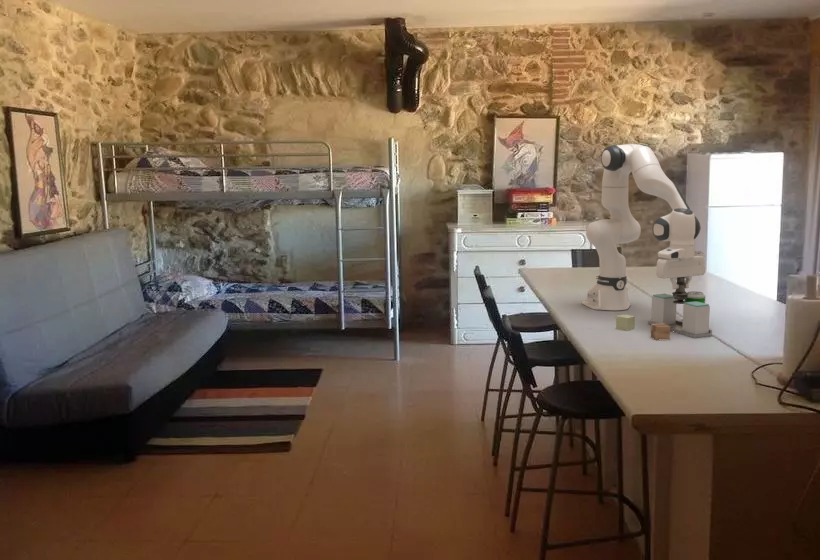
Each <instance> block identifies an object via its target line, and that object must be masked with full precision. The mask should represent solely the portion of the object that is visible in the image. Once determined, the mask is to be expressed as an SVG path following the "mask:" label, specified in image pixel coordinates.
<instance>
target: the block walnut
mask: <svg viewBox="0 0 820 560" xmlns="http://www.w3.org/2000/svg"><path fill="white" fill-rule="evenodd" d="M670 336H671V331H670V326H668V325H666V324H665V323H661V324H651V325H650V338H652V339H653V338H654V339H653V340H655V339H656V340H655V341H660V340H659V339H671V337H670Z"/></svg>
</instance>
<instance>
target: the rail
mask: <svg viewBox="0 0 820 560" xmlns="http://www.w3.org/2000/svg"><path fill="white" fill-rule="evenodd" d="M647 324H648V325H650V324H660V323H656V322H653V321H651V320H648V323H647ZM666 325H668V326H670V332H673V331H674V332H673V333H676V332H677V333H676V334H679V333H680V335H682V334H683V335H682V336H685V337H689V338H692V337H693V338H692V339H697V338H698V337H699V338H708V337H712V336H713V330H712V329H710V328H709V333H703V334H693V333H689V332H686V331H683V330H682V327H683V320H682V321H681V320H678V319H676V323H672V324H666Z"/></svg>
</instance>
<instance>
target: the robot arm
mask: <svg viewBox="0 0 820 560" xmlns="http://www.w3.org/2000/svg"><path fill="white" fill-rule="evenodd" d="M600 156H601V158H600V160H601V161H600V163H601V164H602V167H603V168H604V169H603V173H602V180H601V200H600V202H601V205H602V207H603V208H604V209H606V210H607V211H608V212H609V214H610V218H608V219H599V220H595V221H592V222H590V223H588V225H587V227H586V231H585V236H586V238H587V240H588V242H589V243H590V244H591V245H593V247H594V248H595V250H596V252H597V255H598V260H599V263H598V265H599V275H597V276H595V277H596V278H595V279H596V284H595V285H593V286H592V287H591V288H590V289H589V290H588V291H587V296H586V300H582V301H581V304H582V305H583V306H586V307H588V308H590V309H591V310H599V311H601V310H602V311H625V310H628V309H629V308H630V307H631V303H630V301H629V290H628V289H629V288H628V287H627V283H628V281H627V280H628V279H627V278H628V277H627V274H626V273H627V259H626V256H624V254H621V253H620V252H619V250H618V247H617V245H620V244H629V243H632V242H635V241H637V240H639V238H640V236H641V233H642V230H641V229H642V228H641V225H640V222H639V221H637V220H636V219H635V218H634V216H633V214H632V213H631V210H630V209H631V208H630V206H629V205H630V204H629V187H630V186H629V183H630V182H629V179H630V178H629V177H630V175H631V174H632V177H633V180H634V182H635V185H636V186H637V188H638V189H639V190H640V191H641V192H642V193H644V194H647V195H651V196H654V197H657V198H660V199H662V200H664V201H666V202H667V204H669V206H670V208H671V209H672V211H671V212H670V213H668V214H666V215H664V216H663V215H662V216H659V217H658V218H656V219H655V220H654V222H653V225H652V234H653V237H654V238H655V239H656V240H657V241H659V242H669V246H668V247H666V248H665V249H662V250H660V251H658V252H657V257H658V259H657V261H656V267H655V268H656V269H655V270H656V271H655V272H656V273H655V274H656V277H657V278H659V279H662V280H665V279H669V281H670V283H671V284H672V286H671V287H672V289H673V290H676V289H679V285H678V284H677V277H685V283H686V284H685V289H688V288H689V286H690V283H691V281H692V278H693V277H696V276H697V277H698V276H704V275H705V274H706V262H705V261H706V260H705V254H704V252H703V251H702V250H695V245H696V242H695V239H696V238H698V236H699V234H700V232H701V228H702V227H701V223H700V221H699V219H698V218H697V217H696V215H695V213H694V211H693V210H691V209H690V207H689V205H688V203H687V201H686V200H685V198H684V196H683V195H682V193H681V191H680V189H679V187H678V186H677V185H676V183H675V182H673V181H672V180H671V179H669V177H668V175H666V174H665V172H664V170H663V169H662V167H661V165H660V161H659V159H658V158H657V156H656V154H655V152H654V151H653V148H652V147H651V146H650V145H647V144H643V143H641V144H635V143H626V144H624V143H623V144H617V145H616V144H612V145H608V146H605V148H604V149H603V151H602V153H601V155H600Z"/></svg>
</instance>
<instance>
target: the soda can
mask: <svg viewBox="0 0 820 560" xmlns="http://www.w3.org/2000/svg"><path fill="white" fill-rule="evenodd" d="M686 293H688V296H687V298H686V299H685V300H684V301H686V302H695V301H697V302H701V303H705V304H706V294H704V293H703V292H701V291H695V290H694V291H692V290H691V291H686Z"/></svg>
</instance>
